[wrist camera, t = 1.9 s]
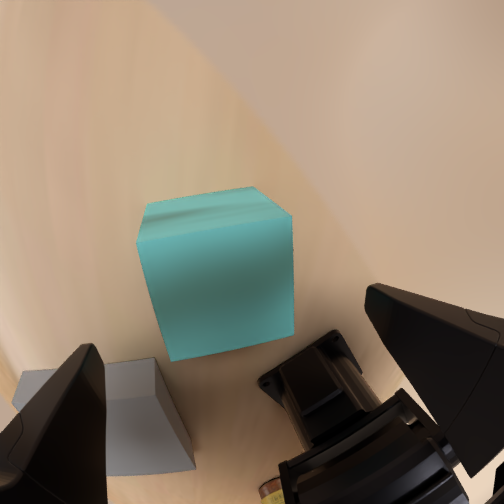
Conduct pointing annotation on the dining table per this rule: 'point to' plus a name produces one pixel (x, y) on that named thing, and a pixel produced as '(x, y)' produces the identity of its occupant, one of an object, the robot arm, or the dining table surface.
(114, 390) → the gray plinth
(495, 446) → the robot arm
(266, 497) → the sauce bottle
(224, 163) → the dining table surface
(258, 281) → the teal cube
